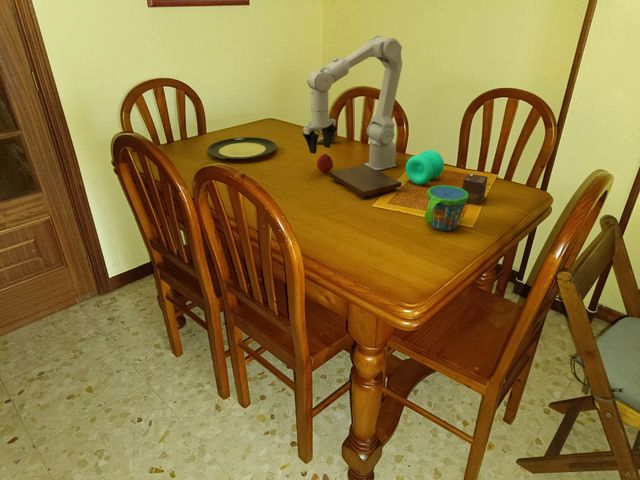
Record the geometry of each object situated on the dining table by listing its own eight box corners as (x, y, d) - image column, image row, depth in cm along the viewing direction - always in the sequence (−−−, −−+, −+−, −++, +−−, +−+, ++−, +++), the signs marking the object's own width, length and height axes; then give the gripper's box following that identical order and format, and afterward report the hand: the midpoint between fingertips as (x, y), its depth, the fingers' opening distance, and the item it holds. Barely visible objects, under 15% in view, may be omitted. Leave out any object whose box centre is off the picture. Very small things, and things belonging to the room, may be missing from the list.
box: (479, 205, 137) (483, 183, 133) (459, 201, 139) (462, 179, 136) (484, 198, 141) (488, 176, 137) (465, 194, 144) (468, 173, 140)
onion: (335, 171, 163) (335, 150, 159) (330, 177, 158) (330, 155, 154) (319, 170, 165) (319, 148, 161) (314, 175, 160) (314, 153, 156)
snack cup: (447, 212, 133) (452, 179, 128) (476, 225, 125) (482, 191, 120) (409, 226, 125) (412, 192, 120) (438, 241, 118) (443, 206, 113)
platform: (365, 172, 162) (365, 164, 161) (400, 190, 147) (401, 182, 146) (329, 180, 156) (329, 172, 154) (363, 200, 141) (363, 191, 139)
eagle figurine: (336, 136, 197) (316, 132, 197) (338, 125, 190) (317, 121, 190) (333, 150, 193) (312, 145, 193) (335, 139, 187) (313, 135, 187)
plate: (290, 149, 186) (290, 143, 185) (246, 169, 166) (246, 162, 165) (239, 138, 200) (239, 133, 198) (192, 156, 179) (191, 150, 178)
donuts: (402, 181, 154) (405, 153, 149) (418, 173, 161) (421, 146, 156) (428, 189, 148) (431, 160, 143) (443, 180, 155) (447, 152, 150)
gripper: (324, 104, 154) (324, 142, 161) (295, 112, 145) (297, 153, 151) (340, 107, 151) (340, 146, 157) (312, 115, 141) (313, 157, 147)
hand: (320, 150), depth 154 cm, fingers open, 7 cm apart
